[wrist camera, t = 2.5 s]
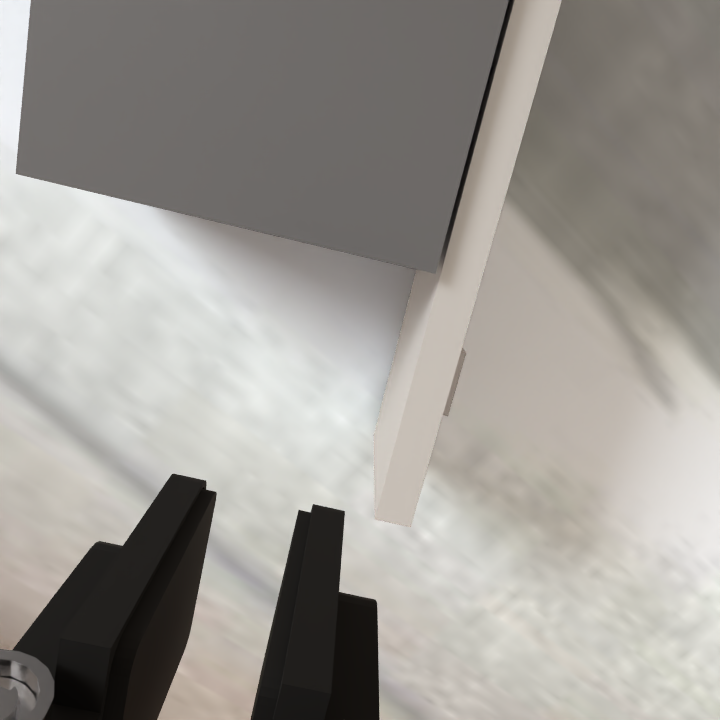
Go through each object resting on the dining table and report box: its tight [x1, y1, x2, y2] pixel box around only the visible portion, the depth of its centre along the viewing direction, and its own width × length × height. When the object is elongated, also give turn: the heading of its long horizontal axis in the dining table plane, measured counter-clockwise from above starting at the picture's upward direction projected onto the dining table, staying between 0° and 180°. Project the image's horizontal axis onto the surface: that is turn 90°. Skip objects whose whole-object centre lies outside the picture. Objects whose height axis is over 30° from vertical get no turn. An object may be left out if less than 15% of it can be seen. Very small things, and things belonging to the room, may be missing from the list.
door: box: [373, 0, 562, 527], centre depth 21 cm, size 26×2×7 cm, turn 167°
